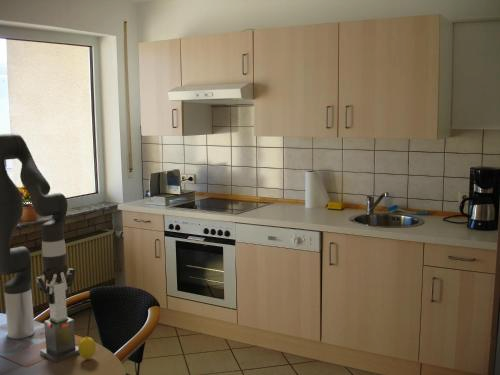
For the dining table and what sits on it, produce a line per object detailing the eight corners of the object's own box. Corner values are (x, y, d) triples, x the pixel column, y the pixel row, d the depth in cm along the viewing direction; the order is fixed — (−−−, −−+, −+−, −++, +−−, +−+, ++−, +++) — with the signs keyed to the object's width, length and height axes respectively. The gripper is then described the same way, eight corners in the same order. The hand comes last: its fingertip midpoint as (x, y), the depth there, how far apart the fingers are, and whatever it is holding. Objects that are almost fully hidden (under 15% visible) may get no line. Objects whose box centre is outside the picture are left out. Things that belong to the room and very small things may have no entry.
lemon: (91, 363, 179) (90, 340, 178) (76, 362, 181) (74, 339, 179) (99, 356, 185) (97, 333, 184) (84, 355, 186) (82, 332, 185)
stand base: (40, 354, 187) (37, 321, 185) (66, 344, 194) (64, 312, 193) (55, 362, 180) (52, 328, 179) (82, 352, 188) (79, 319, 186)
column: (51, 335, 186) (47, 282, 183) (62, 331, 189) (58, 279, 187) (57, 338, 183) (53, 285, 181) (68, 334, 187) (65, 282, 184)
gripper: (67, 246, 190) (70, 294, 192) (28, 255, 179) (32, 305, 182) (79, 250, 185) (82, 298, 187) (39, 259, 174) (43, 310, 177)
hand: (57, 301), depth 185 cm, fingers closed on column, 4 cm apart
